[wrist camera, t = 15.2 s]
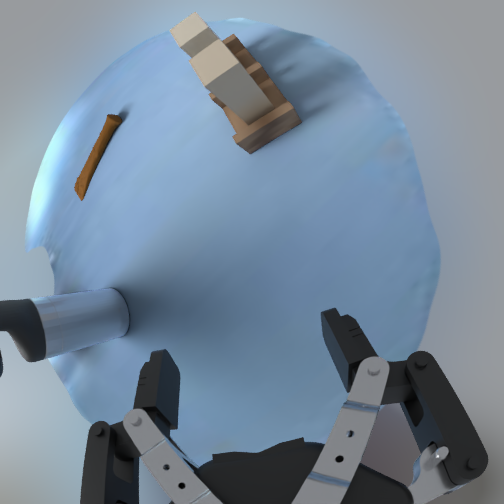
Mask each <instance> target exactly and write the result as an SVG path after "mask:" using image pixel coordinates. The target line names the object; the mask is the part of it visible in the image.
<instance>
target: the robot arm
mask: <svg viewBox="0 0 504 504" xmlns="http://www.w3.org/2000/svg"><path fill="white" fill-rule="evenodd" d="M321 322H322V332H323V338H324V341H325V344H326V346H327V348H328V351H329V353H330V355H331V357H332V360H333V362H334V364H335V366H336V368H337V371H338V373H339V375H340V378H341V380H342V382H343V384H344V387H345V389H346V391H347V393H348V392H350V393H349V396H348V398H347V401H346V402H345V403H344V404H343V406H342V408H341V410H340V412H339V415H338V417H337V419H336V422H335V424H334V426H333V429H332V431H331V433H330V435H329V437H328V440H327V442H326V444H322V443H316V442H304V438H303V437H302V438H299V439H295V440H291V441H287V442H282V443H279V444H277V445H275V446H273V447H271V448H268V449H266V450H264V451H261V452H259V453H247V452H228V453H220V454H212V456H213V460H211V461H209V462H207V463H205V464H203V465H202V466H200V467H199V466H198V465H196V464H195V463H194V462H193V461H192V460H191V459H190V458H189V457H188V456H187V455H186V453H185V452H184V451H183V450H182V449H181V448H180V447H179V445H178V444H177V443H176V442H175V441H174V440H173V438H172V437H171V436H170V430H174V429H178V407H179V391H180V372H179V369H178V367H177V365H176V364H175V362H174V361H173V359H172V357H171V356H170V354H169V353H168V351H167V350H166V349H164V350H158V351H153V352H151V356H150V361H149V362H145V364H144V365H143V367H142V369H141V371H140V375H139V380H138V386H137V391H136V396H135V402H134V407H133V410H131V411H129V412H128V413H127V414H126V415H125V417H124V420H123V421H121V422H119V423H116V424H113V425H109V424H108V423H106V422H104V421H98V422H96V423H94V424H93V425H92V426H91V428H90V430H89V434H88V440H87V447H86V453H85V460H84V467H83V477H82V487H81V500H80V504H139V457H140V458H141V460H142V461H143V463H144V464H145V466H146V467H147V468H148V470H149V471H150V473H151V474H152V475H153V477H154V478H155V479H156V481H157V482H158V483H159V484H160V486H161V487H162V488H163V490H164V491H165V492H166V493H167V495H168V496H169V497H170V498H171V499H172V501H171V502H170V503H169V504H425V503H427V502H429V501H431V500H433V499H435V498H436V497H438V496H440V495H442V494H443V495H445V494H449V493H451V492H453V491H455V490H457V489H458V488H460V487H462V486H464V485H466V484H467V483H469V482H471V481H472V480H474V479H475V478H477V477H479V476H480V475H481V474H482V473H483V472H484V471H485V469H486V467H487V464H488V455H487V453H486V450H485V448H484V446H483V444H482V442H481V440H480V438H479V436H478V434H477V432H476V430H475V428H474V426H473V424H472V422H471V420H470V418H469V417H468V415H467V413H466V411H465V409H464V407H463V406H462V404H461V402H460V400H459V398H458V397H457V395H456V393H455V392H454V390H453V388H452V386H451V385H450V383H449V381H448V380H447V378H446V376H445V375H444V373H443V372H442V370H441V368H440V367H439V365H438V363H437V362H436V360H435V359H434V357H433V356H432V355H431V354H430V353H428V352H425V351H417V352H414V353H412V354H411V355H410V356H409V357H408V359H407V360H405V361H397V362H389V361H386V360H385V359H383V358H381V357H379V356H378V355H377V354H376V352H375V350H374V349H373V347H372V346H371V344H370V342H369V341H368V339H367V337H366V336H365V334H364V332H363V331H362V329H361V328H360V326H359V324H358V323H357V321H356V320H355V319H354V318H352V317H351V316H349V315H348V314H347V315H344V316H340V314H339V313H338V311H337V309H336V308H332V309H329V310H326V311H323V312H321ZM128 327H129V312H128V308H127V305H126V302H125V300H124V298H123V297H122V295H121V294H120V293H119V292H118V291H117V290H115V289H113V288H107V289H99V290H91V291H84V292H76V293H69V294H61V295H53V296H46V297H39V298H31V299H23V300H7V301H0V331H7V332H8V333H9V334H10V336H11V337H12V338H13V341H14V343H15V345H16V347H17V349H18V351H19V352H20V354H21V355H22V357H23V358H24V359H25V360H26V361H28V362H36V361H40V360H44V359H47V358H51V357H55V356H58V355H61V354H65V353H68V352H72V351H75V350H79V349H82V348H86V347H89V346H92V345H96V344H99V343H102V342H106V341H109V340H112V339H115V338H118V337H122V336H123V335H125V334H126V332H127V330H128ZM2 373H3V362H2V356H1V351H0V377H1V375H2ZM392 403H400V405H401V407H402V410H403V412H404V414H405V416H406V419H407V421H408V423H409V426H410V428H411V430H412V433H413V435H414V437H415V440H416V442H417V445H418V447H419V450H420V452H421V455H420V456H419V457H418V458H417V460H416V461H415V463H414V465H413V473H414V478H413V481H412V483H411V485H410V486H409V487H406V486H405V485H404V484H402V483H400V482H398V481H396V480H394V479H392V478H390V477H388V476H385V475H383V474H381V473H379V472H377V471H375V470H373V469H371V468H369V467H367V466H365V465H363V464H362V463H360V462H361V460H362V457H363V455H364V452H365V450H366V447H367V444H368V441H369V439H370V436H371V433H372V430H373V427H374V424H375V421H376V418H377V415H378V412H379V409H380V405H384V404H392Z"/></svg>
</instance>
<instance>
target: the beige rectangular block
mask: <svg viewBox="0 0 504 504" xmlns="http://www.w3.org/2000/svg"><path fill="white" fill-rule="evenodd" d="M189 62H190V64H191V66H192V67H193V69H194V70H195V72H196V74H197V75H198V77H199V79H200V80H201V82H202V83H203V85H204V87H205V88H207V89H208V90H209V91H210V92H211V93H213V94H214V95H215V96H216V97H217V98H218V99H219V100H221V101H222V102H223V103H224V104H225V105H226V106H227V107H229V108H230V109H231V110H232V111H233V112H234V113H235V114H236V115H237V116H238V117H240V118H241V119H242V120H243V121H244V122H245V123H246V124H247V125H248V126H249V125H250V124H252V123H254V122H255V121H257V120H258V119H260V118H261V117H263V116H265V115H266V114H268V113H269V112H271V111H273V110H274V109H275V107H274V106H273V105H272V103H271V102H270V100H269V99H268V98H267V96H266V95H265V94H264V92H263V91H262V90H261V88H260V87H259V86H258V84H257V83H256V82H255V81H254V79H253V78H252V77H251V76H250V74H249V73H248V72H247V71H246V69H245V68H244V67H243V66H242V65H241V63H240V62H239V61H238V60H237V59H236V57H235V56H234V55H233V54H232V53H231V52H230V50H229V49H228V48H227V47H226V46H225V45H224V44H223V42H222V41H221V40H220V39H218V40H216V41H215V42H214V43H212V44H211V45H209V46H208V47H206V48H205V49H204V50H202V51H201V52H199V53H198V54H197V55H195V56H194V57H193V58H191V59H190V60H189Z"/></svg>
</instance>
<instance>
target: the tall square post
mask: <svg viewBox="0 0 504 504" xmlns="http://www.w3.org/2000/svg"><path fill="white" fill-rule="evenodd" d="M170 32H171V34H172V35H173V37H174V39H175V40H176V42H177V44H178V45H179V47H180V48H181V49H182V50H183V51H185V52H186V53H187V54H188V55H189V56H190V57H191V58H193V57H194V56H195V55H197V54H198V53H199V52H201V51H202V50H204V49H205V48H206V47H208V46H209V45H211V44H212V43H214V42H215V41H216V40H218V39H220V38H219V37H218V35H217V34H216V33H215V32H214V31H213V30H212V29H211V28H210V27H209V26H208V25H207V23H206V22H205V21H204V20H203V19H202V18H201V17H200V16H199V15H198V14H197V13H196V12H194V13H193V14H191V15H190V16H189V17H187V18H186V19H184V20H183V21H181V22H180V23H179V24H177V25H176V26H175V27H173V28H172V29H171V30H170ZM220 40H221V39H220ZM221 41H222V40H221ZM222 42H223V41H222ZM223 44H224V45H225V46H226V44H225V43H224V42H223ZM226 47H227V46H226ZM227 48H228V47H227ZM228 49H229V48H228ZM229 50H230V49H229ZM230 52H231V53H232V51H231V50H230ZM232 54H233V53H232ZM233 55H234V54H233ZM234 56H235V55H234ZM235 57H236V56H235ZM236 59H237V57H236ZM237 60H238V59H237ZM238 61H239V60H238ZM239 62H240V61H239ZM240 63H241V62H240ZM241 65H242V64H241ZM242 66H243V65H242ZM243 67H244V66H243Z"/></svg>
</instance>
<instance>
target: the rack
mask: <svg viewBox="0 0 504 504" xmlns="http://www.w3.org/2000/svg"><path fill="white" fill-rule="evenodd" d="M223 42H224V43H225V44H226V46H227V47H228V48H229V49H230V50H231V51H232V53H233V54H234V55H235V56H236V57H237V59H238V60H239V61H240V62H241V64H242V65H243V66H244V68H245V69H246V71H247V72H248V73H249V74H250V76H251V77H252V78H253V79H254V81H255V82H256V83H257V84H258V86H259V87H260V88H261V90H262V91H263V92H264V94H265V95H266V96H267V98H268V99H269V100H270V102H271V103H272V105H273V106H274V107H275V109H274V110H273V111H271V112H269V113H268V114H266V115H265V116H263V117H261V118H260V119H258V120H257V121H255V122H254V123H252V124H250V125H249V126H248V125H247V124H246V123H245V122H244V121H243V120H242V119H241V118H240V117H238V116H237V115H236V114H235V113H234V112H233V111H232V110H231V109H230V108H229V107H227V106H226V105H225V104H224V103H223V102H222V101H221V100H219V99H218V98H217V97H216V96H215V95H214V94H213V93H210V94H209V96H210V97H211V99H212V100H213V101H214V102H215V103H216V104H218V105H219V106H220V107H221V108H222V109H223V110H224V112H225V114H226V116H227V117H228V119H229V121H230V123H231V124H232V126H233V128H234V130H235V131H236V133H237V134H235V135H234V136H232V137H233V139H234V140H235V142H236V144H237V145H239V146H240V147H241V148H243V149H244V150H245V151H247V152H248V153H249V154H251V153H253V152H254V151H256V150H258V149H259V148H261V147H262V146H264V145H266V144H267V143H269V142H270V141H272V140H274V139H275V138H277V137H279V136H280V135H282V134H283V133H285V132H287V131H288V130H290V129H292V128H294V127H295V126H297V125H299V124H300V123H302V121H301V120H300V118H299V116H298V114H297V113H296V111H295V109H294V108H293V106H292V105H291V103H290V102H289V101H287V100H286V98H285V97H284V96H283V94H282V93H281V92H280V90H279V89H278V88H277V86H276V85H275V84H274V83H273V81H272V80H271V79H270V77H269V76H268V74H267V73H266V72H265V70H264V69H263V67H262V66H261V65H260V63H259V62H257V61H256V60H255V59H254V58H253V57H252V55H251V54H250V53H249V52H248V51H247V49H246V48H245V47H244V46H243V44H242V43H241V42H240V41H239V39H238V38H237V37H236V36H235V35H234V34H232V35H231V36H229V37H228V38H226V39H225V40H223Z"/></svg>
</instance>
